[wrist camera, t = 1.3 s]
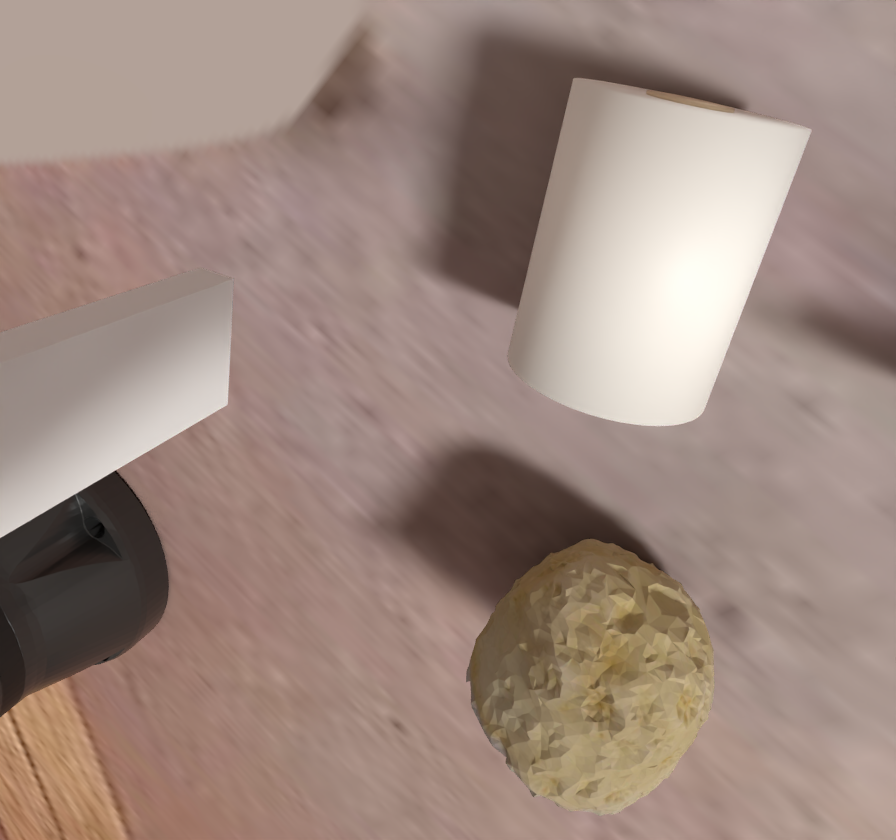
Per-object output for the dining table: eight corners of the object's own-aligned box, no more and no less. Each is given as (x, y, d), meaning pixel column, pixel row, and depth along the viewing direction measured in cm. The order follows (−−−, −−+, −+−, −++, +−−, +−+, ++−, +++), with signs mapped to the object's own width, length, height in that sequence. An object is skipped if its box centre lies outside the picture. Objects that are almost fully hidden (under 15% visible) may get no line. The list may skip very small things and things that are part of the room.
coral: (389, 707, 32) (471, 659, 24) (523, 549, 38) (628, 467, 30) (554, 876, 31) (699, 886, 23) (667, 688, 37) (816, 643, 29)
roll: (695, 365, 30) (714, 450, 23) (519, 322, 30) (492, 393, 24) (787, 115, 25) (840, 137, 19) (580, 71, 26) (566, 79, 20)
